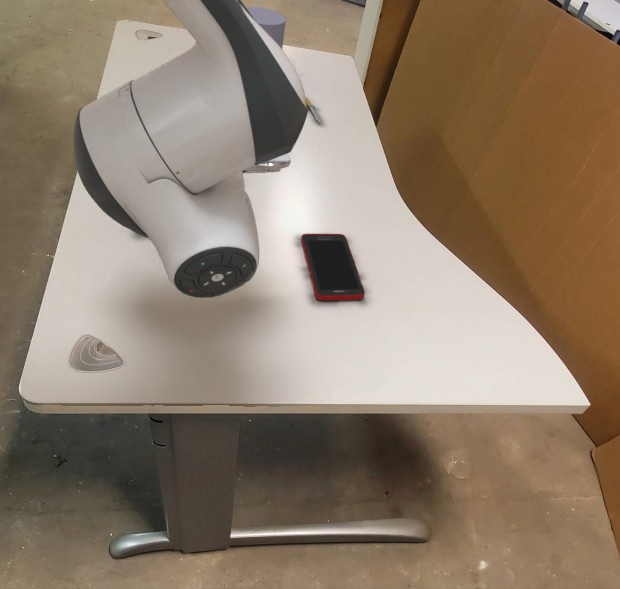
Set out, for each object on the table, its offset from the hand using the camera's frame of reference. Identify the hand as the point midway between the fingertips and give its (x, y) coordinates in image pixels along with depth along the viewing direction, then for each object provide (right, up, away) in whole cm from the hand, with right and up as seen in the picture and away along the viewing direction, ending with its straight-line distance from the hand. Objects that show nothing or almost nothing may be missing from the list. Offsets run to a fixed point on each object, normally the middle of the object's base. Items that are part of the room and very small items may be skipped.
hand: (184, 105), depth 63 cm
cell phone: (+18, -18, +21) cm, 34 cm away
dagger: (+16, +19, +58) cm, 63 cm away
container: (+2, +29, +64) cm, 71 cm away
